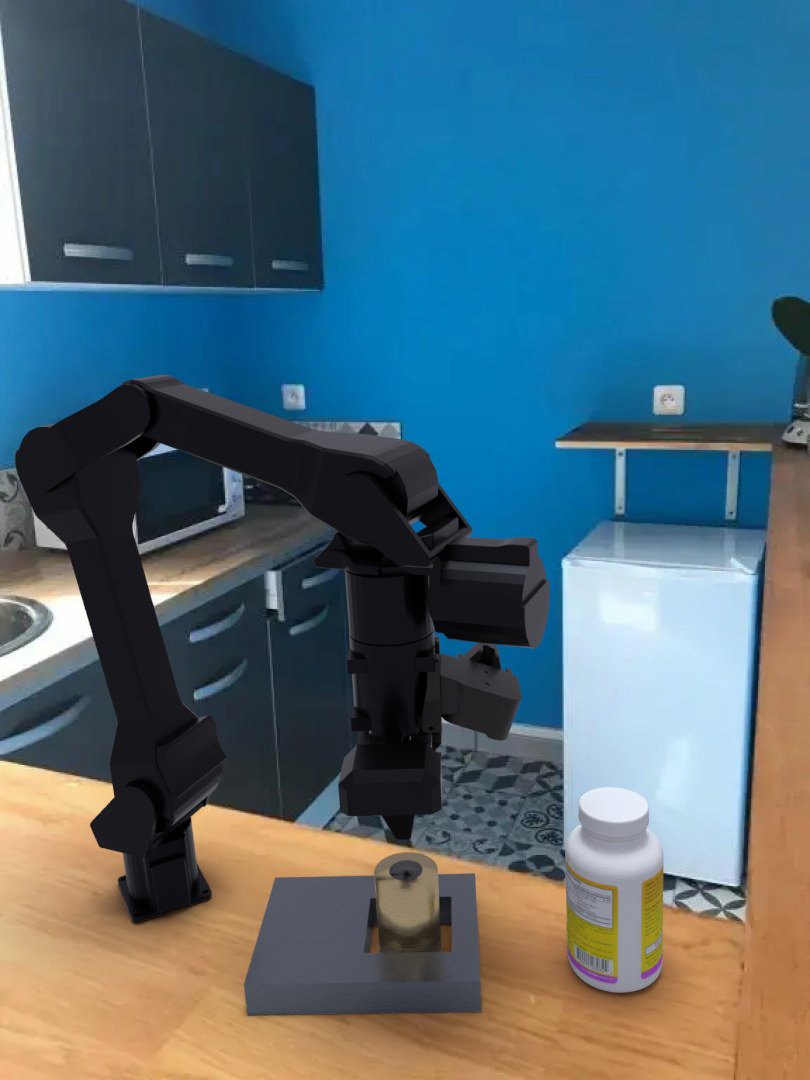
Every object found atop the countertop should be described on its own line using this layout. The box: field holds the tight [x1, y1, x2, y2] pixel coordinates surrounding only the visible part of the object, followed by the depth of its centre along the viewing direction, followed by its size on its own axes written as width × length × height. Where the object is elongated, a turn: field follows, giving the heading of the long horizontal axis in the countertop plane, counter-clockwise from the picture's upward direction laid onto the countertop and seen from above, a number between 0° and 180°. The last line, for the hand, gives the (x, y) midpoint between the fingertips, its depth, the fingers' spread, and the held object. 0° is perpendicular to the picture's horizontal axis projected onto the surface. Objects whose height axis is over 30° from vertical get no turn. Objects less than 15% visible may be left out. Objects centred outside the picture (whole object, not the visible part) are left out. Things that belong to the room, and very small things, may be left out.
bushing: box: [373, 851, 443, 953], centre depth 68 cm, size 5×5×7 cm
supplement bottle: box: [564, 786, 664, 994], centre depth 65 cm, size 7×7×13 cm
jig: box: [243, 872, 483, 1016], centre depth 69 cm, size 16×12×2 cm
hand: (403, 836), depth 67 cm, fingers closed
